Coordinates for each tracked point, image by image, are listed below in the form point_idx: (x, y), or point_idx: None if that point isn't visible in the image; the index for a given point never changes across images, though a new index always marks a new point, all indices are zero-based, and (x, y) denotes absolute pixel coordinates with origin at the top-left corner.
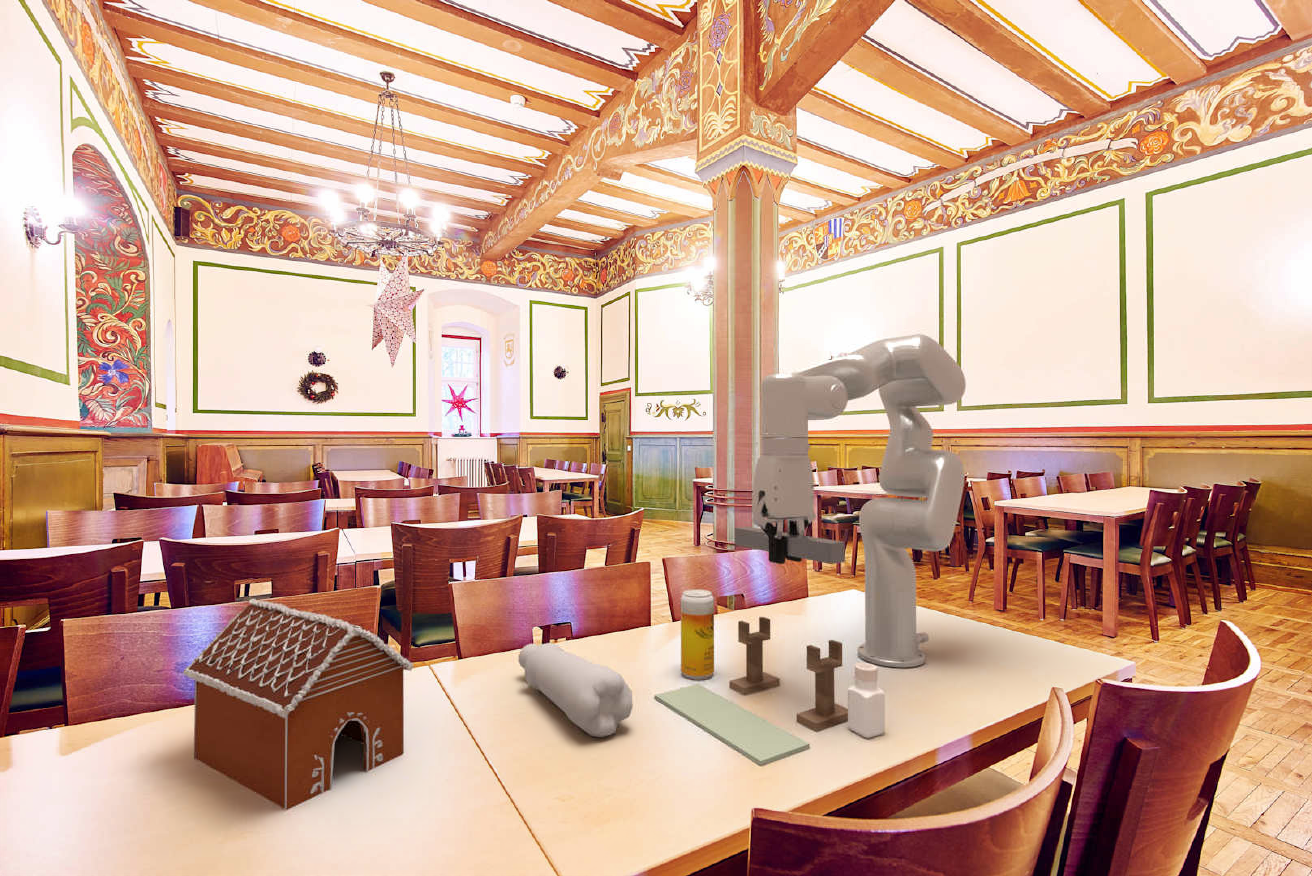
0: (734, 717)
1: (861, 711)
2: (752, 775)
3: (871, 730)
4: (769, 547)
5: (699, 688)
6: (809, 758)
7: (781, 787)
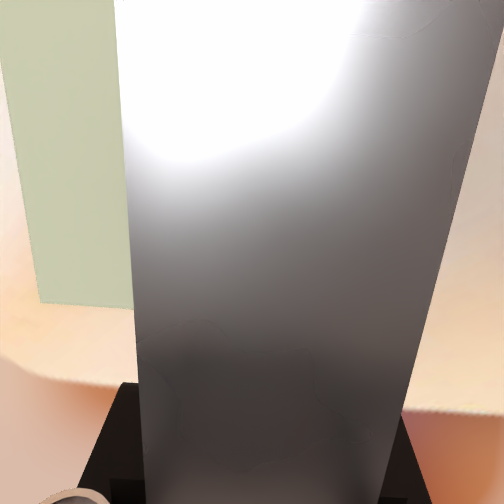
0: (97, 158)
1: None
2: (16, 308)
3: None
4: (100, 438)
5: None
6: (129, 324)
7: (36, 349)
